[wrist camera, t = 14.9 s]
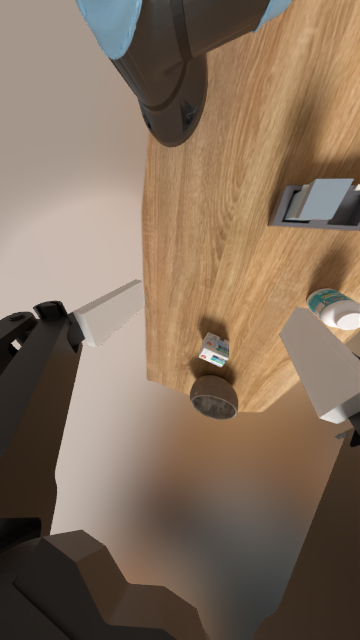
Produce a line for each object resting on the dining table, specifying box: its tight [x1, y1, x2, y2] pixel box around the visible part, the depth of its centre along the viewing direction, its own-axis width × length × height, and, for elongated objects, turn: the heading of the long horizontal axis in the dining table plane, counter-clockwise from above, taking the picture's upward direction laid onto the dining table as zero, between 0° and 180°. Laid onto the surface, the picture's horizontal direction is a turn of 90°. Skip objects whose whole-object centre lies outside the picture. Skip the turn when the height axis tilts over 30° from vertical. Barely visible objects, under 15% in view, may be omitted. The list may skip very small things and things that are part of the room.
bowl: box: [190, 375, 238, 420], centre depth 73 cm, size 24×24×15 cm
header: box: [268, 184, 360, 231], centre depth 30 cm, size 7×18×6 cm, turn 86°
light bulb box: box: [199, 332, 229, 367], centre depth 59 cm, size 11×7×11 cm, turn 73°
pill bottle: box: [306, 288, 360, 330], centre depth 36 cm, size 8×7×14 cm
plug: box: [282, 179, 354, 221], centre depth 28 cm, size 5×5×13 cm
